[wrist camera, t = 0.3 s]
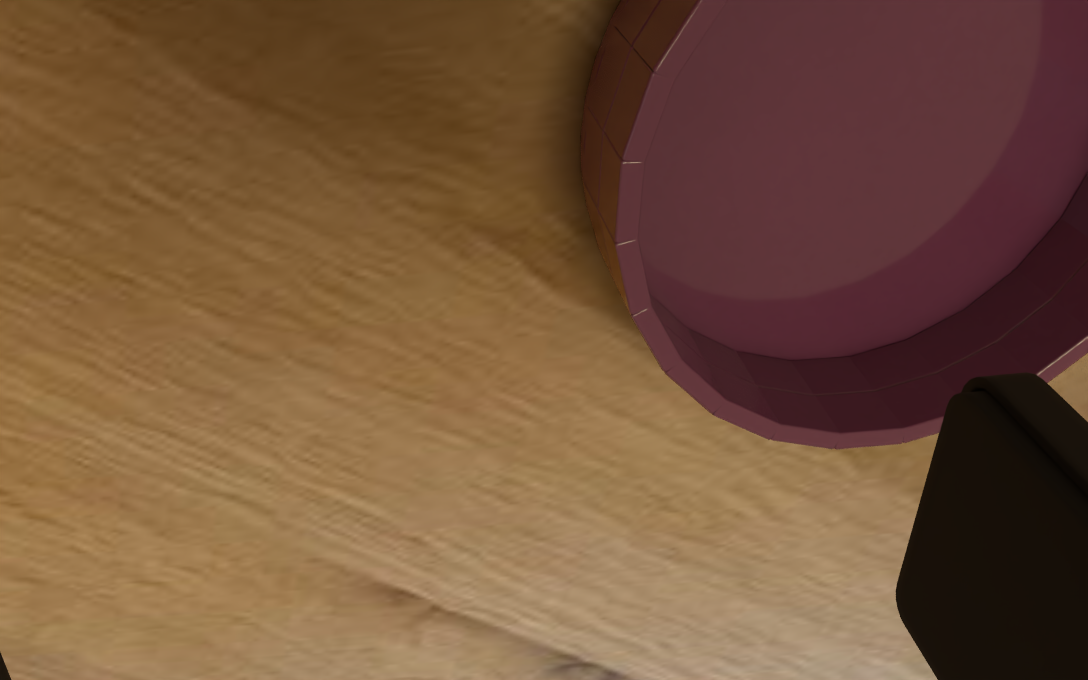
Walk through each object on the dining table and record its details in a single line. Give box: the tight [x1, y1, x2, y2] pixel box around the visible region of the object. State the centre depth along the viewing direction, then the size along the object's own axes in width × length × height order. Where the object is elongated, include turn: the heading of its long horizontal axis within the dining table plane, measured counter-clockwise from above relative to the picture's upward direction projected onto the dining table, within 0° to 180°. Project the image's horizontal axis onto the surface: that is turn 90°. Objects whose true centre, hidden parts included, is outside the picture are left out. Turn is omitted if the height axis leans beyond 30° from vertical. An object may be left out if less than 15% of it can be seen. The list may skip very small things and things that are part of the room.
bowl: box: [581, 0, 1088, 449], centre depth 27 cm, size 16×16×4 cm
